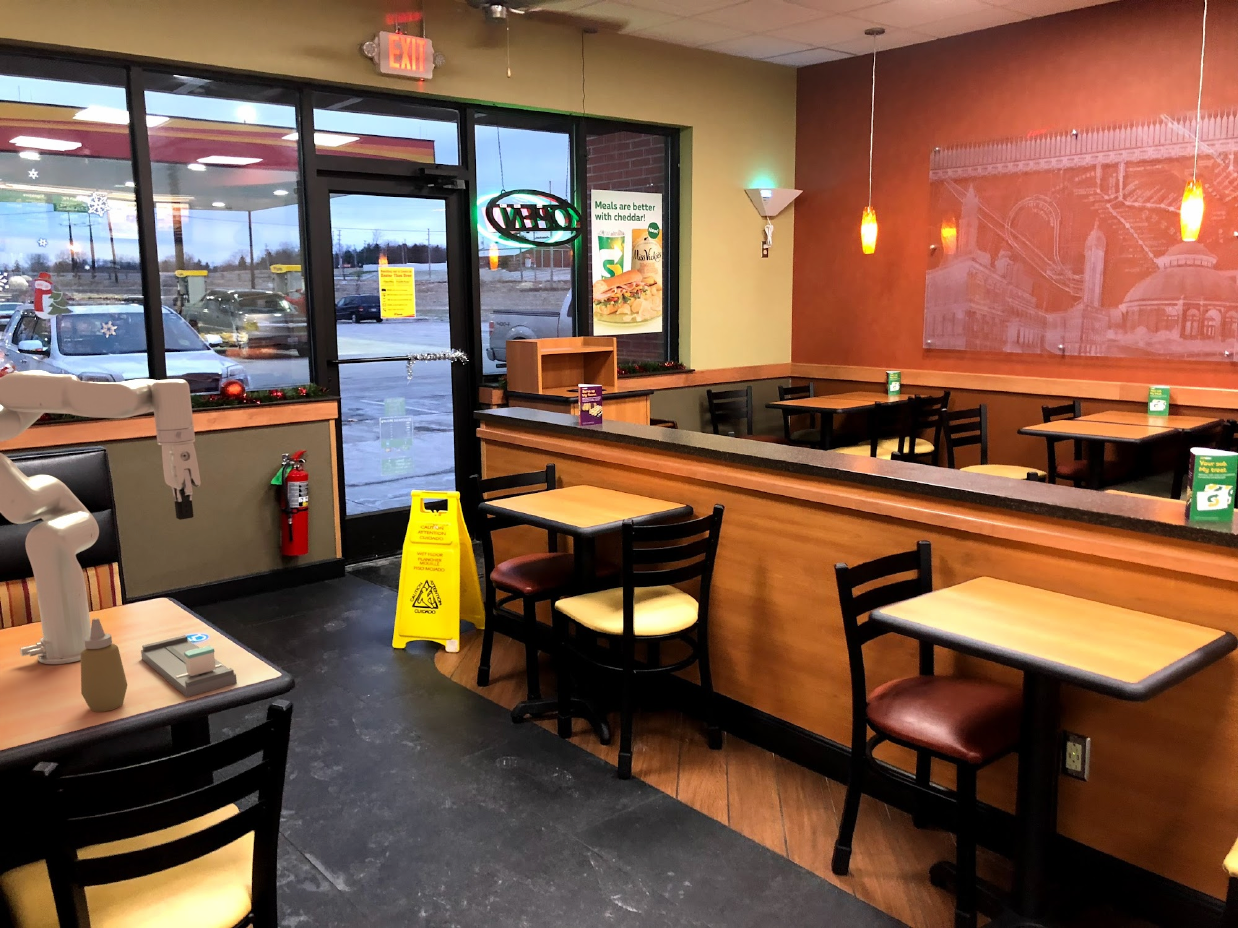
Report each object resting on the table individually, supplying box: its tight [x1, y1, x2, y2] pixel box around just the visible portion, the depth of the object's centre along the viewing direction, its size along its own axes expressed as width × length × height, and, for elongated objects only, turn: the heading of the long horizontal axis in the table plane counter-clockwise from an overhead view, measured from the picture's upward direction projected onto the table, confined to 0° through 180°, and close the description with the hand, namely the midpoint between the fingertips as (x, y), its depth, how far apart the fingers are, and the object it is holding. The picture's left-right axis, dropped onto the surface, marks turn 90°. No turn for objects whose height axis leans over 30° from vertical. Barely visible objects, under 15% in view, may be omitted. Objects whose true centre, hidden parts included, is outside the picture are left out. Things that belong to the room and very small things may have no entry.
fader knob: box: [184, 645, 216, 676], centre depth 203 cm, size 5×3×4 cm, turn 131°
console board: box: [140, 635, 238, 698], centre depth 210 cm, size 10×30×3 cm, turn 42°
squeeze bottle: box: [80, 618, 128, 713], centre depth 191 cm, size 8×8×18 cm
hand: (185, 517), depth 216 cm, fingers closed
